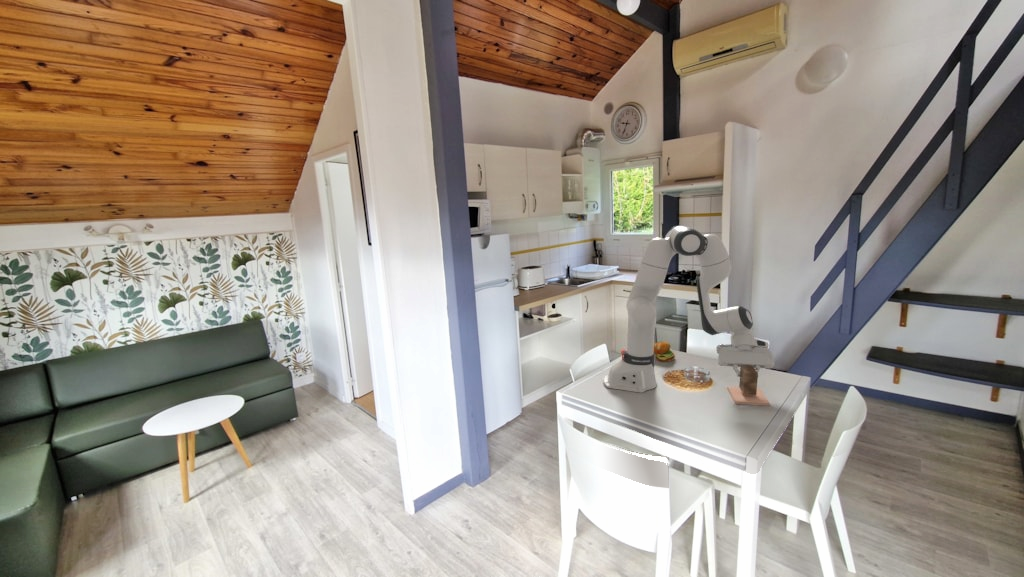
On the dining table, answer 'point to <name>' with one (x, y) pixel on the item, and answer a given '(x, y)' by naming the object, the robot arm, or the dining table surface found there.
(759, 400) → the mat
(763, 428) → the dining table surface
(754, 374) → the card box
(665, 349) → the cheeseburger
